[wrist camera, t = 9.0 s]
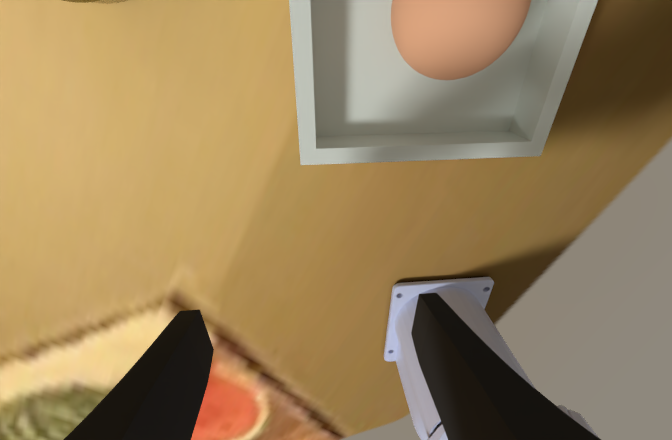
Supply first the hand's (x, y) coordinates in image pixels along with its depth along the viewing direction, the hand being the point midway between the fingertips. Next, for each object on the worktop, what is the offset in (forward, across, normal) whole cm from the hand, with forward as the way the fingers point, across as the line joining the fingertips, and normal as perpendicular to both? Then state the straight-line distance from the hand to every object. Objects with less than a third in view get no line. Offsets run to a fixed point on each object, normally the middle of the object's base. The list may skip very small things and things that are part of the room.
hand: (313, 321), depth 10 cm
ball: (+9, -6, -9) cm, 14 cm away
